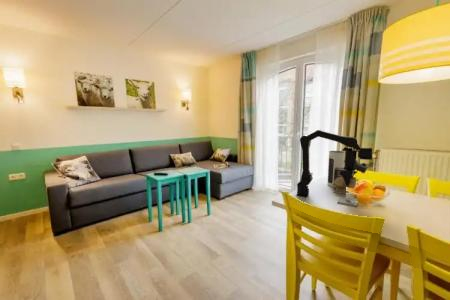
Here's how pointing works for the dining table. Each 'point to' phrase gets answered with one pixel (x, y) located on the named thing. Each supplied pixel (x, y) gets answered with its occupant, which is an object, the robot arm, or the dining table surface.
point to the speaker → (334, 164)
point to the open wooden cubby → (351, 184)
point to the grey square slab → (347, 200)
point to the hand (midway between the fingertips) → (348, 184)
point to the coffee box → (338, 181)
